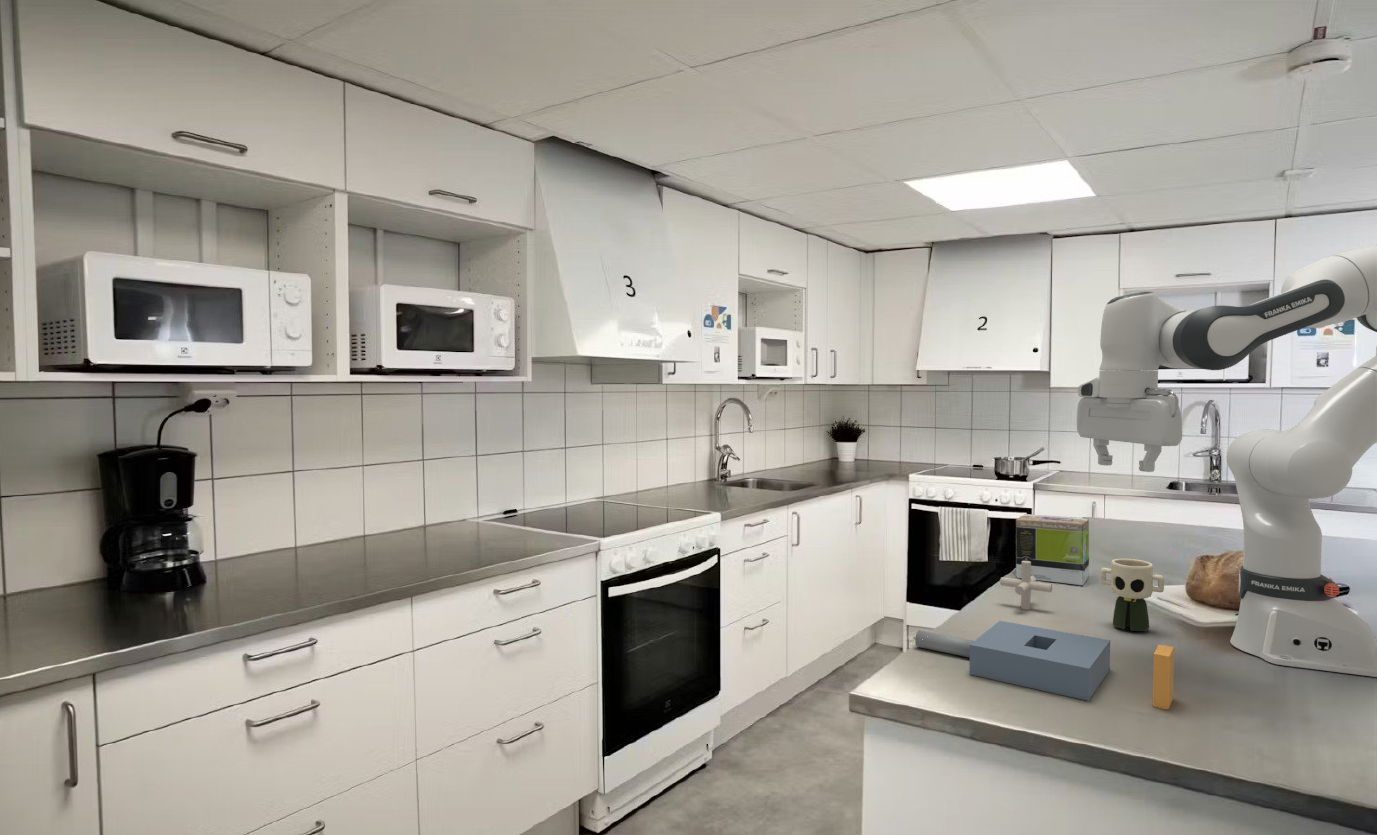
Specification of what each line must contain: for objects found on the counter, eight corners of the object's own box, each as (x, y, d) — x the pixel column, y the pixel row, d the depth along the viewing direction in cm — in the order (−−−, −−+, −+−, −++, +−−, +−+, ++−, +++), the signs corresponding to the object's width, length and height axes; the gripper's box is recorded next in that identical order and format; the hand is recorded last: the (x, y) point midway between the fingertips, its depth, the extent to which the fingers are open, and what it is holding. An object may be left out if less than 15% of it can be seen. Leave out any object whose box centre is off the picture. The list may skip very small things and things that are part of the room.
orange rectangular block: (1157, 695, 122) (1158, 644, 122) (1173, 698, 121) (1173, 647, 120) (1152, 706, 118) (1153, 653, 118) (1168, 709, 117) (1169, 656, 116)
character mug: (1095, 627, 155) (1096, 562, 154) (1104, 619, 160) (1105, 555, 159) (1159, 639, 148) (1160, 570, 147) (1166, 629, 153) (1167, 563, 152)
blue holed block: (1109, 669, 133) (1110, 640, 132) (1088, 700, 120) (1089, 668, 120) (934, 635, 151) (934, 609, 151) (900, 659, 139) (900, 631, 138)
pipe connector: (1045, 618, 161) (1045, 569, 160) (994, 610, 167) (994, 563, 166) (1056, 606, 169) (1057, 560, 168) (1007, 599, 175) (1008, 554, 174)
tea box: (1089, 577, 192) (1090, 517, 192) (1083, 587, 184) (1084, 524, 183) (1023, 569, 201) (1024, 512, 200) (1014, 578, 193) (1015, 518, 192)
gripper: (1194, 388, 126) (1191, 475, 127) (1100, 386, 146) (1098, 461, 147) (1161, 388, 125) (1157, 476, 125) (1071, 386, 145) (1068, 462, 145)
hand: (1125, 468), depth 136 cm, fingers open, 8 cm apart
